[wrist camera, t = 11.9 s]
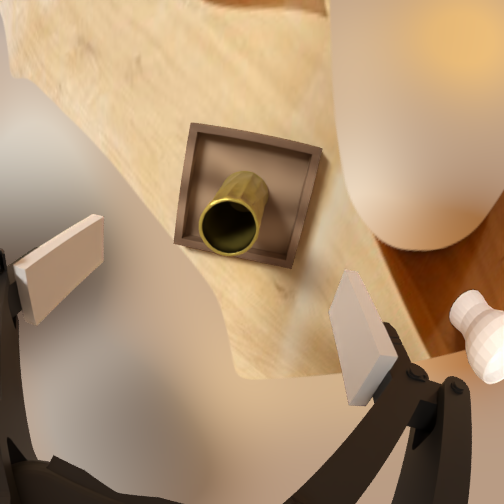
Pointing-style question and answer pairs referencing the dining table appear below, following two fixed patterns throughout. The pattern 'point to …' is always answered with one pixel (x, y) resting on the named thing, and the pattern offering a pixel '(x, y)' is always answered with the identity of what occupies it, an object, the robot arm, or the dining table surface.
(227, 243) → the vase
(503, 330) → the cup
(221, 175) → the walnut tray
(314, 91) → the dining table surface
